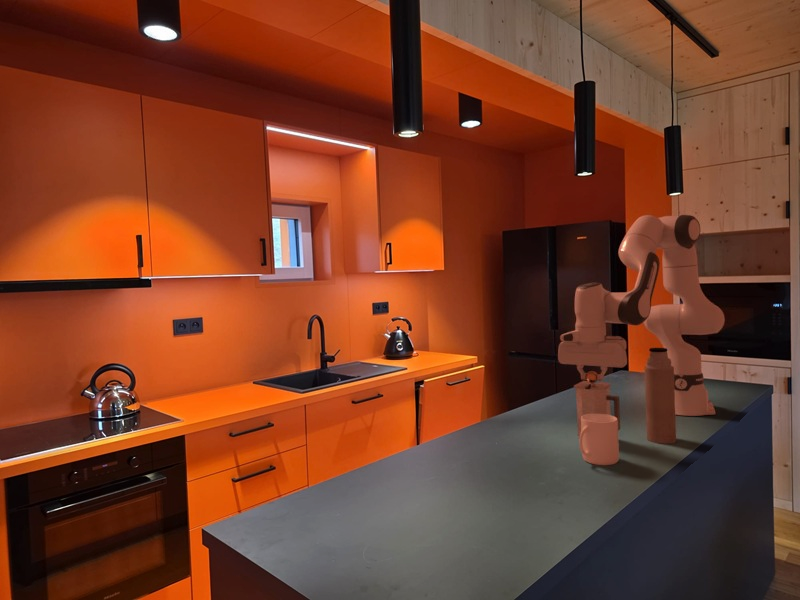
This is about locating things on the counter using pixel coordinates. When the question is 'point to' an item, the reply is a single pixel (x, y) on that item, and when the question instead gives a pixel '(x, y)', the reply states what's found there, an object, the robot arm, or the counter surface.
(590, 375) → the copper ball on rod
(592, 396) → the press carafe
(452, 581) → the counter surface
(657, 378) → the thermos bottle
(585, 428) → the mug
